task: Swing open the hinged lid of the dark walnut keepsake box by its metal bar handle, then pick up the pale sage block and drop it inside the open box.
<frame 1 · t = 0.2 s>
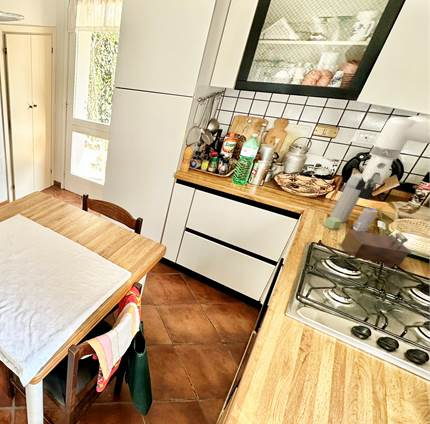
hand: (361, 194, 121), 31 cm above the kitchen counter, tool pointing down, fingers open, 9 cm apart
box lid: (380, 237, 131), point 10 cm above the kitchen counter, hinge at 0.0°
water bottle: (335, 219, 166), on the kitchen counter
keepsake box: (367, 256, 136), on the kitchen counter
block: (330, 226, 159), on the kitchen counter
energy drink: (359, 230, 156), on the kitchen counter
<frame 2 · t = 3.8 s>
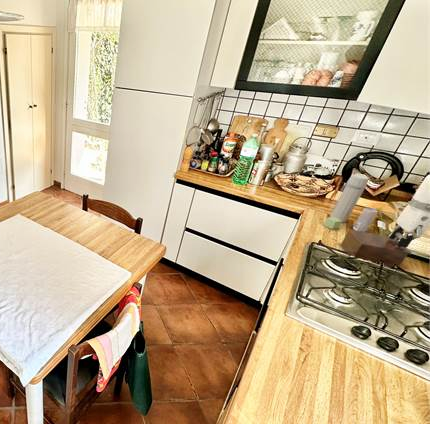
hand: (397, 242, 130), 9 cm above the kitchen counter, tool pointing down, fingers closed on box lid, 5 cm apart
box lid: (380, 237, 131), point 10 cm above the kitchen counter, hinge at 0.0°, touching gripper
everything else where it was.
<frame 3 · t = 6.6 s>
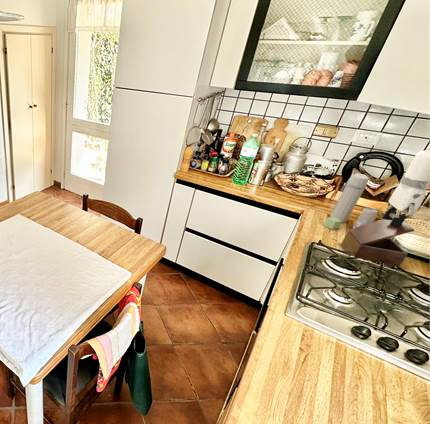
hand: (391, 222, 128), 18 cm above the kitchen counter, tool pointing down, fingers closed on box lid, 5 cm apart
box lid: (377, 226, 130), point 15 cm above the kitchen counter, hinge at 39.7°, touching gripper
everything else where it was.
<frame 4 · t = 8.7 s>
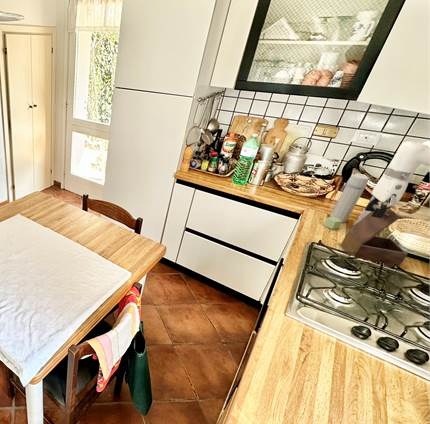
hand: (372, 213, 129), 20 cm above the kitchen counter, tool pointing down, fingers closed on box lid, 5 cm apart
box lid: (367, 221, 130), point 17 cm above the kitchen counter, hinge at 67.7°, touching gripper
everything else where it was.
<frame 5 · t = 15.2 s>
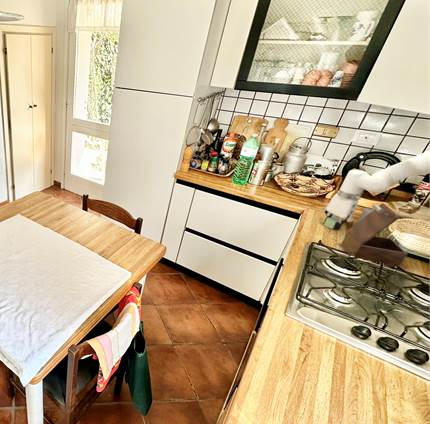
hand: (331, 226, 159), 0 cm above the kitchen counter, tool pointing down, fingers closed on block, 4 cm apart
box lid: (367, 221, 130), point 17 cm above the kitchen counter, hinge at 67.9°
block: (330, 226, 159), on the kitchen counter, touching gripper
everything else where it was.
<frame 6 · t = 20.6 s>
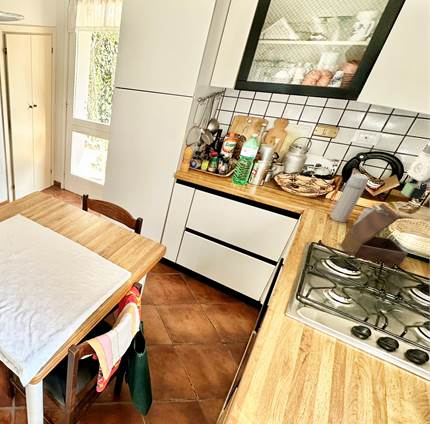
hand: (411, 194, 123), 30 cm above the kitchen counter, tool pointing down, fingers closed on block, 4 cm apart
block: (410, 195, 123), point 30 cm above the kitchen counter, touching gripper
everything else where it was.
when the fingers open (7 cm above the kitchen counter, at t = 26.3 s): block drops 6 cm, resting on keepsake box.
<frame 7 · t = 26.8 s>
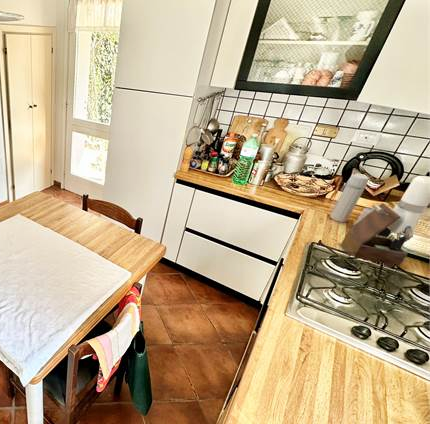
hand: (388, 241, 131), 9 cm above the kitchen counter, tool pointing down, fingers open, 9 cm apart
block: (378, 256, 135), point 1 cm above the kitchen counter, touching keepsake box
everything else where it was.
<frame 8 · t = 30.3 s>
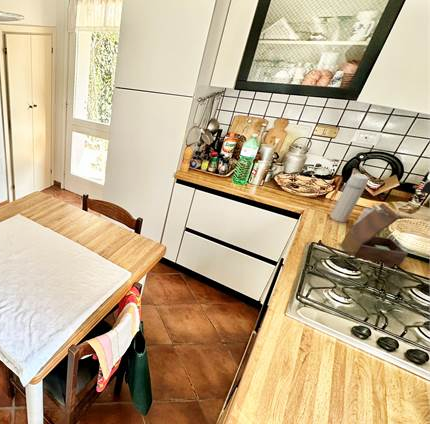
nothing on the kitchen counter moved.
at the end: box lid at +68° (first picture: +0°); block inside the target area in the keepsake box (3.6 cm from its centre), point 0.8 cm above the keepsake box's base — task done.
